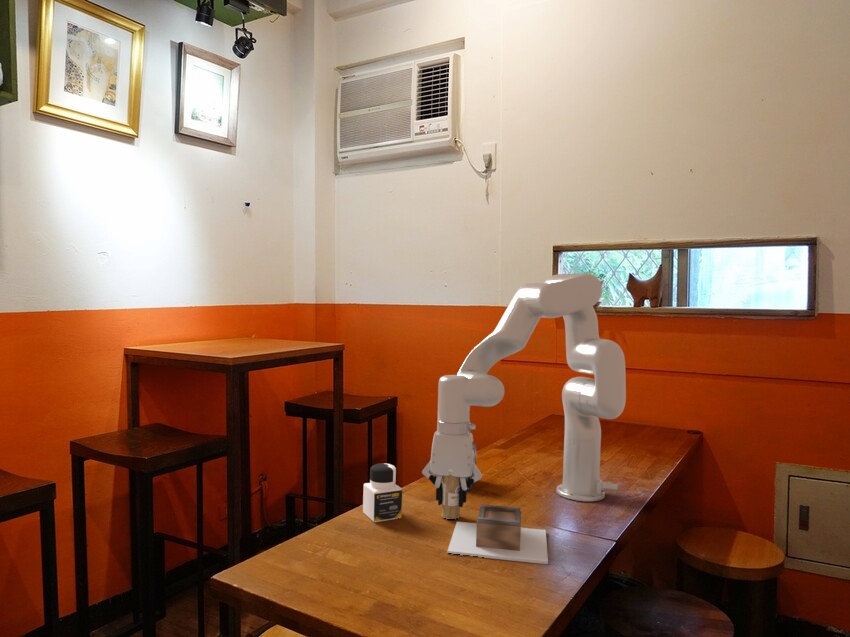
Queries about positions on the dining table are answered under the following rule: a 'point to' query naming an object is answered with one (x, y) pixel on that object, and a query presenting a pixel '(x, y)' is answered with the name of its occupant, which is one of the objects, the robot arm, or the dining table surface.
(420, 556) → the dining table surface
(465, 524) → the white rectangular board
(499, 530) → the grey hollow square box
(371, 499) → the medicine bottle
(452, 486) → the sprinkles bottle
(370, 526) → the dining table surface
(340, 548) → the dining table surface
